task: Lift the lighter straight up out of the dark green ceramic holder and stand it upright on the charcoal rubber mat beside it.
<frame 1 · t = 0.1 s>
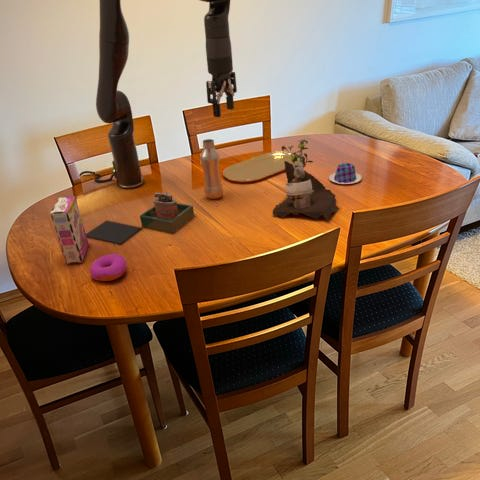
hand: (224, 112, 145), 29 cm above the table, tool pointing down, fingers open, 8 cm apart
candy bar box: (79, 254, 140), on the table
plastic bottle: (214, 197, 166), on the table
purple patterned hat: (344, 179, 171), on the table
potted plant: (306, 206, 155), on the table
lighter: (168, 222, 153), resting in holder
donut: (111, 274, 130), on the table
serving platter: (262, 169, 184), on the table
mat: (113, 232, 150), on the table
holder: (168, 221, 153), on the table
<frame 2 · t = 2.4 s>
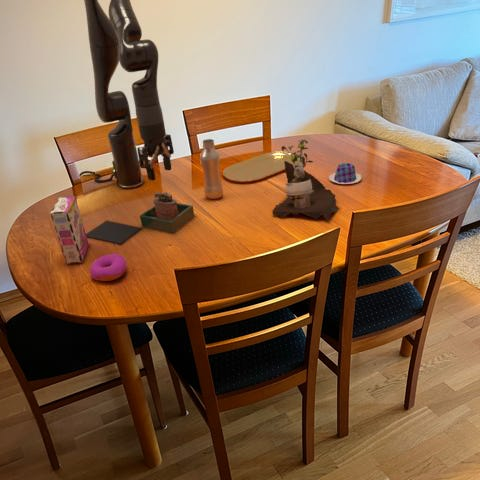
hand: (160, 174, 143), 16 cm above the table, tool pointing down, fingers open, 8 cm apart
nothing on the table moved.
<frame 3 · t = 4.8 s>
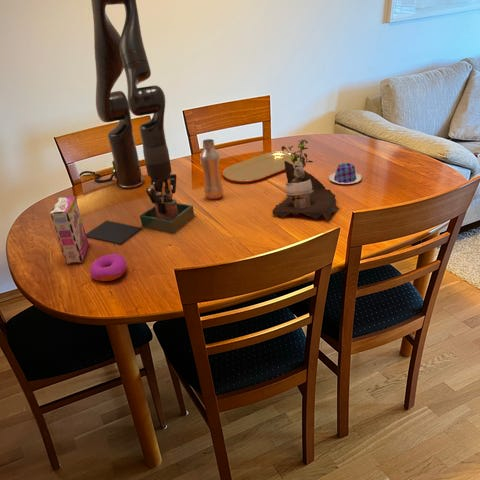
hand: (166, 210, 151), 4 cm above the table, tool pointing down, fingers closed on lighter, 3 cm apart
lighter: (168, 222, 153), resting in holder, touching gripper
everything else where it was.
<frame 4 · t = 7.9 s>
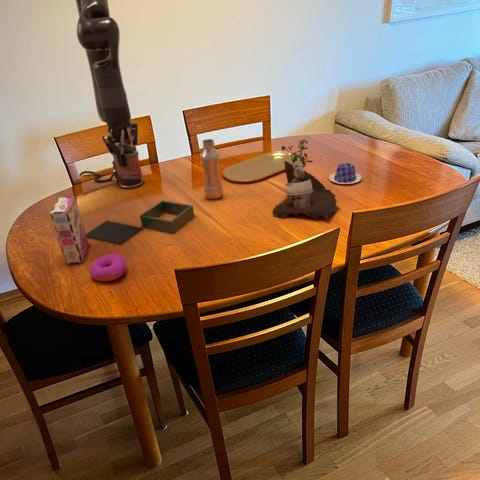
hand: (127, 163, 138), 21 cm above the table, tool pointing down, fingers closed on lighter, 3 cm apart
lighter: (130, 177, 141), point 17 cm above the table, touching gripper
everything else where it was.
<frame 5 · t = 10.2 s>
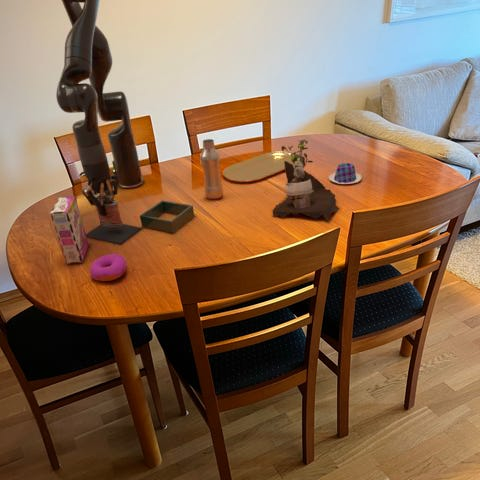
hand: (108, 212, 145), 7 cm above the table, tool pointing down, fingers closed on lighter, 3 cm apart
lighter: (111, 224, 148), point 3 cm above the table, touching gripper
everything else where it was.
when the fingers open (4 cm above the table, at t = 11.4 s): lighter stays where it is, resting on mat.
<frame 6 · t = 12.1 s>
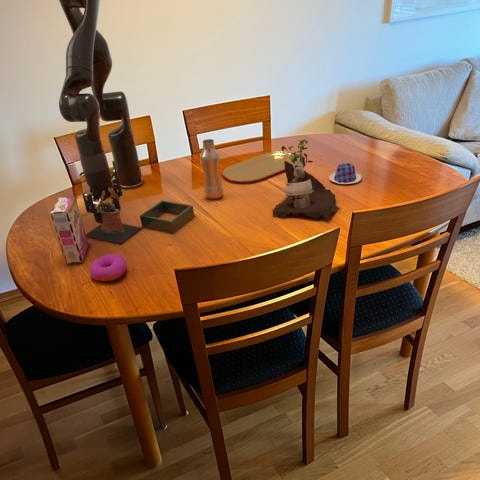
hand: (109, 216, 146), 6 cm above the table, tool pointing down, fingers open, 8 cm apart
lighter: (113, 232, 150), resting on mat
everything else where it was.
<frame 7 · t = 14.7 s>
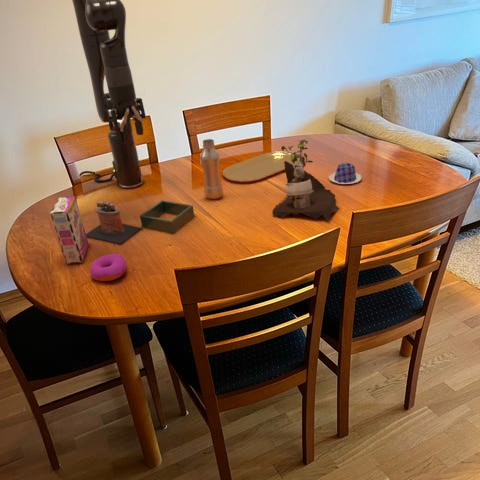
hand: (131, 139, 144), 25 cm above the table, tool pointing down, fingers open, 8 cm apart
nothing on the table moved.
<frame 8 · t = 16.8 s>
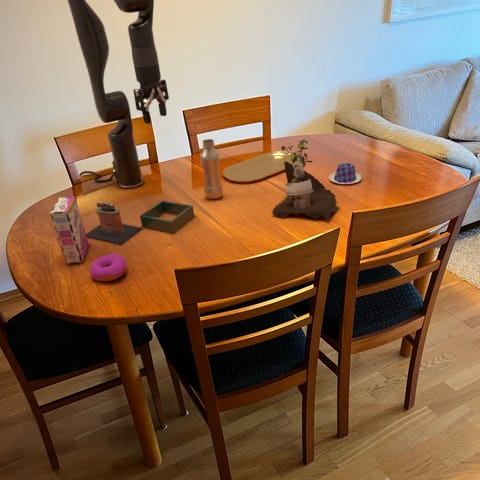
hand: (155, 119, 149), 28 cm above the table, tool pointing down, fingers open, 8 cm apart
nothing on the table moved.
at the end: lighter inside the target area (0.1 cm from its centre), resting on mat; lighter tilted 0°; the gripper is holding nothing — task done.
